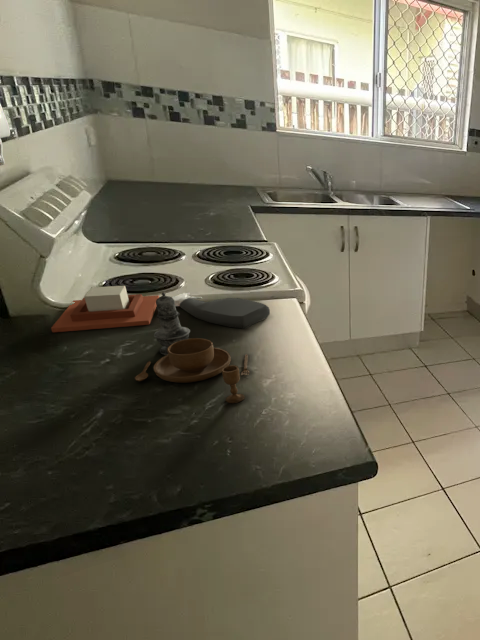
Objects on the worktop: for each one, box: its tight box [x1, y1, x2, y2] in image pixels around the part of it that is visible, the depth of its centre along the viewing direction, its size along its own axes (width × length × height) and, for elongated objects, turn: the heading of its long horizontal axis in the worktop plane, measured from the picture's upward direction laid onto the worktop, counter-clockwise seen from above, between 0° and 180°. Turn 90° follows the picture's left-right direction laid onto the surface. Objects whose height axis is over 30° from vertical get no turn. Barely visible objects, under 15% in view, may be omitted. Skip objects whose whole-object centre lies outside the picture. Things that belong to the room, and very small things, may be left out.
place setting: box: [134, 337, 250, 404], centre depth 83 cm, size 18×20×6 cm
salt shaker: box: [153, 291, 191, 356], centre depth 91 cm, size 6×6×12 cm
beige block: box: [83, 285, 130, 312], centre depth 104 cm, size 6×6×4 cm
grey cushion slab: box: [171, 291, 271, 329], centre depth 110 cm, size 3×11×24 cm
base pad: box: [50, 293, 160, 333], centre depth 104 cm, size 16×16×2 cm
